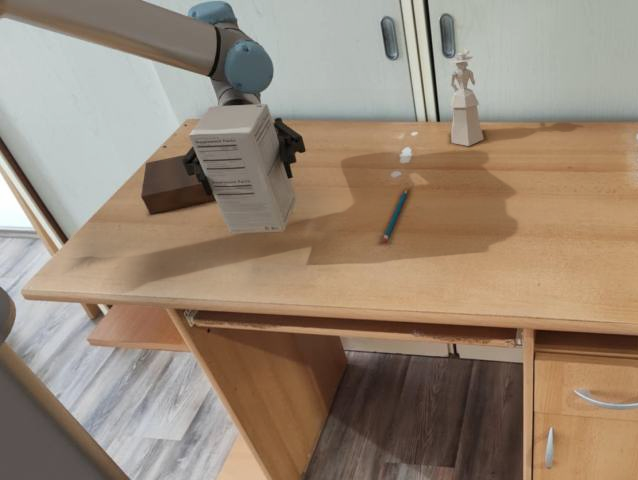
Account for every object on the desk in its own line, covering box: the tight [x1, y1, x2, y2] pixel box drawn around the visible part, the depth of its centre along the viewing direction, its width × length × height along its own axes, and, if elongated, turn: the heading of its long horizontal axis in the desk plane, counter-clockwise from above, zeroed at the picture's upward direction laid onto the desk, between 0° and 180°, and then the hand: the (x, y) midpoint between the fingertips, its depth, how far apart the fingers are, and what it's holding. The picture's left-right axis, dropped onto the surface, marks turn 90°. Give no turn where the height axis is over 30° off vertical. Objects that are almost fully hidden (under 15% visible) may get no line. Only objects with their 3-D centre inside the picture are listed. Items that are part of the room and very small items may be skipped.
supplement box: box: [188, 103, 297, 234], centre depth 90 cm, size 10×9×17 cm
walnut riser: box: [140, 154, 216, 215], centre depth 118 cm, size 14×14×4 cm
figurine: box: [449, 48, 484, 147], centre depth 120 cm, size 7×8×18 cm
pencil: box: [381, 189, 408, 244], centre depth 107 cm, size 1×17×1 cm, turn 170°
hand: (247, 178), depth 87 cm, fingers closed on supplement box, 11 cm apart
